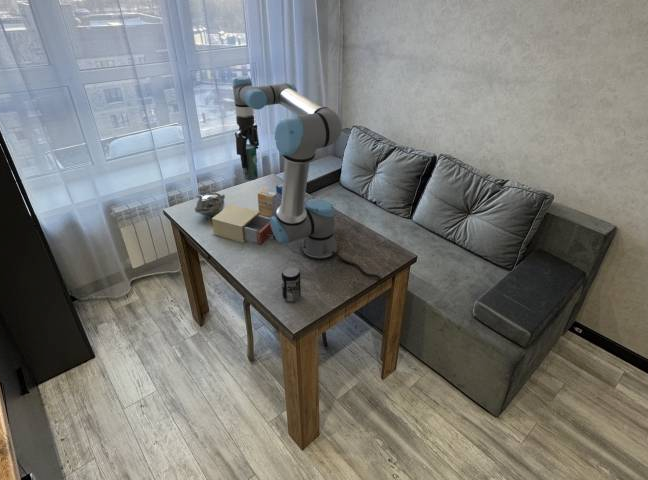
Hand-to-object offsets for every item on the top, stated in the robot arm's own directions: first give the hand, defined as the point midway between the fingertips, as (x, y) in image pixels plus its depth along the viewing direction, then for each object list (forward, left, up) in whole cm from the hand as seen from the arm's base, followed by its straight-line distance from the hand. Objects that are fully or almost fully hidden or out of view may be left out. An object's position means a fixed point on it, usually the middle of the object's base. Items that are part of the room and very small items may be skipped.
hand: (249, 165), depth 180 cm
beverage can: (-43, +42, -28) cm, 66 cm away
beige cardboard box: (0, +14, -27) cm, 31 cm away
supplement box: (-6, -3, -28) cm, 29 cm away
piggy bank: (+19, +8, -28) cm, 34 cm away
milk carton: (-18, -3, -28) cm, 33 cm away
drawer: (-12, +14, -27) cm, 32 cm away
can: (0, 0, -6) cm, 6 cm away
